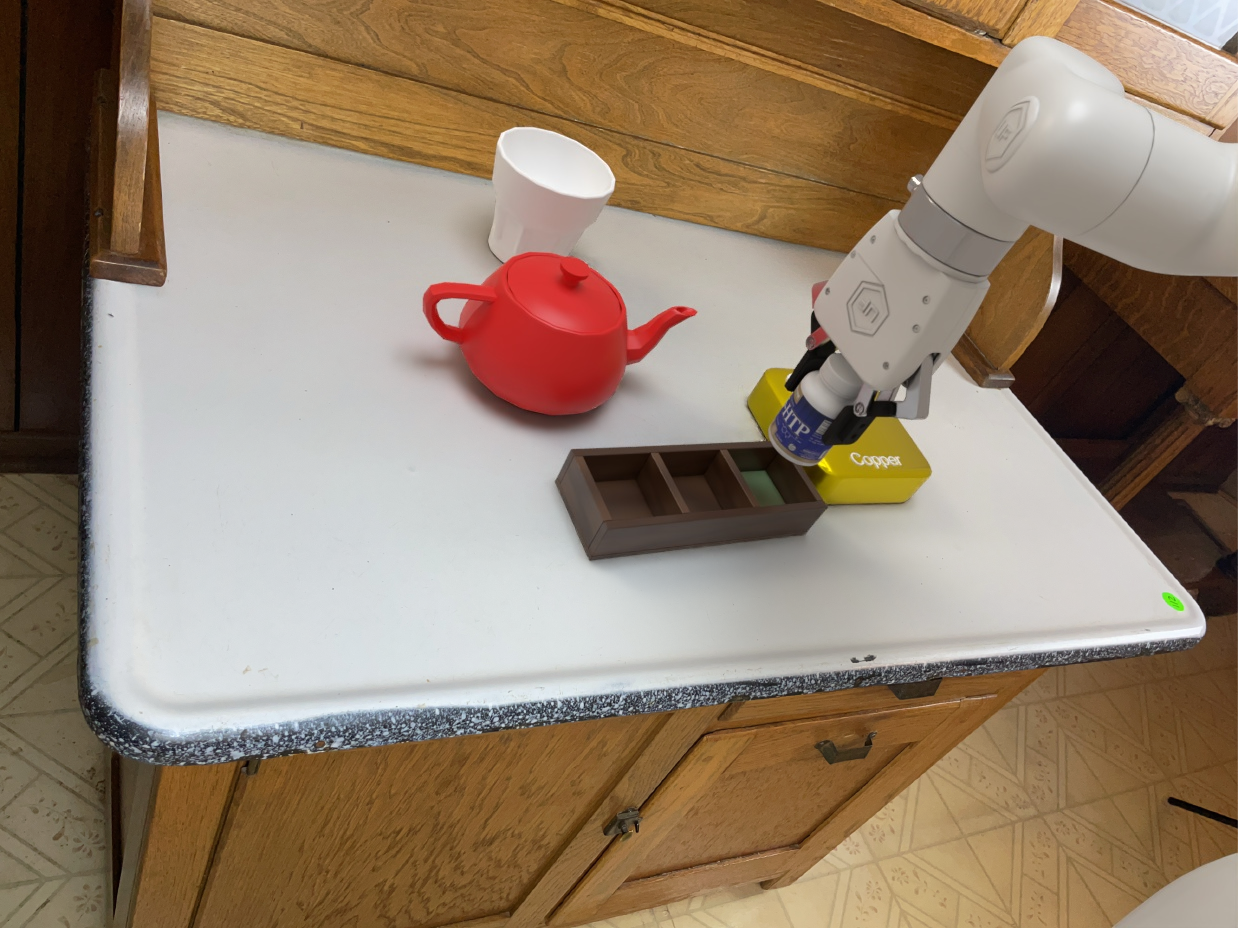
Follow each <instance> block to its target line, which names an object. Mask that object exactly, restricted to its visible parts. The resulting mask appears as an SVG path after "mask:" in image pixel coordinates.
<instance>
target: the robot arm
mask: <svg viewBox="0 0 1238 928" xmlns="http://www.w3.org/2000/svg"><path fill="white" fill-rule="evenodd" d="M906 189H907V190H908V192H910V197H909V198H908V199H907V201H906V202H905V203H904V206H903V207H902V208H901V209H896V208H895V209H891V210H889V211H888V212H887V213H886V214H885V215H883V217H882V218H881V219H879V221H877V222H876V223H875V224H874V225H873V226H872V227H871V228H870V229H869V230H868V231H867V232H866V233H865V234H864V235H863V236H862V238H861V239H860V240H859V241H858V242H857V243H856V245H854V247H853V248H852V249H851V250H850V251H849V253H848V254H847V255H846V257H845V258H844V259H843V260H842V261H841V263H840V264H839V266H838V267H837V268H836V270H835V271H834V273H832V275H831V276H830V277H829V279H827V280H823V281H820V282H816V283H814V284H813V285H812V286H811V306H812V307H811V308H812V309H813V310H812V312H811V313H810V335H808V336H807V337H806V339H805V347H806V350H805V352H804V354H803V356H802V357H801V359H799V361H798V362H797V365H795V367H794V368H793V369H794V371H793V373H792V374H791V376H790V377H789V379H788V380H787V382H786V383H785V385H784V386H785V388H786V389H787V391H790V392H794V391H795V389H796V388H797V386H798V385H799V384H800V382H801V381H802V379H803V378H804V377H805V376H806V375H807V374H808V373H810V372H812V371H816V370H820V368H821V367H822V365H823V364H824V362H825V361H826V360H827V358H828V357H829V356H830V355H831V354H834V353H837V352H836V351H839V353H841V354H842V355H843V357H844V358H845V359H846V361H847V362H848V363H849V364H850V366H851V367H852V368H853V370H854V371H855V372H856V374H857V375H858V376H859V377H860V379H861V380H862V381H863V384H862V386H861V389H860V391H859V394H858V396H857V399H856V401H855V404H854V405H847V406H845V407H844V408H843V409H842V410H841V412H840V413H839V414H838V416H837V417H836V418H835V420H834V421H833V422H832V423H831V425H830V426H829V427H828V429H827V430H826V431H825V433H824V434H823V435H822V439H821V441H822V442H823V444H824V445H825V446H830V445H851V444H853V443H855V442H856V441H857V440H858V439H859V438H860V437H861V435H862V434H863V433H864V432H865V431H866V429H867V428H868V427H869V426H870V424H871V423H872V422H873V421H874V419H875V418H876V417H893V418H898V419H899V420H900V419H901V420H909V421H920V420H922V421H923V420H927V418H928V417H929V414H930V404H931V392H932V379H933V375H935V373H936V372H937V370H939V368H940V367H941V365H942V364H943V363H944V362H945V361H946V359H947V357H949V355H950V353H951V352H952V351H953V349H954V348H955V346H957V344H958V342H959V341H960V339H961V338H962V336H963V335H964V333H966V330H967V329H968V327H969V326H970V324H971V322H972V320H973V319H974V317H975V316H976V314H977V312H978V310H979V308H980V307H981V305H982V303H983V301H984V299H985V297H986V295H987V293H988V291H989V290H990V287H991V283H990V281H989V279H988V278H989V276H990V275H991V274H992V273H993V271H995V270H996V268H997V267H998V265H999V264H1000V263H1001V261H1003V259H1004V258H1005V256H1006V255H1007V254H1008V253H1009V252H1010V251H1011V249H1012V248H1013V247H1014V245H1015V244H1016V243H1017V242H1018V240H1020V238H1021V237H1022V236H1023V235H1024V233H1025V232H1026V231H1027V230H1028V228H1029V227H1030V226H1033V227H1035V228H1038V229H1040V230H1042V231H1044V232H1047V233H1049V234H1052V235H1054V236H1055V237H1056V236H1057V237H1060V238H1062V239H1066V240H1068V241H1071V242H1073V243H1075V244H1078V245H1080V246H1083V247H1085V248H1087V249H1089V250H1091V251H1095V252H1097V253H1099V254H1102V255H1104V256H1107V257H1109V258H1111V259H1114V260H1116V261H1117V262H1121V263H1123V264H1124V265H1127V266H1129V267H1133V268H1136V269H1139V270H1143V271H1147V272H1151V273H1157V274H1163V275H1171V276H1173V275H1174V276H1185V277H1186V276H1187V277H1188V276H1189V277H1191V276H1192V277H1238V142H1221V141H1218V140H1215V139H1213V138H1211V137H1210V136H1208V135H1205V134H1203V133H1201V132H1200V131H1197V130H1195V129H1194V128H1191V127H1190V126H1188V125H1185V124H1183V123H1181V122H1179V121H1177V120H1175V119H1172V118H1170V117H1168V116H1166V115H1164V114H1162V113H1160V112H1158V111H1156V110H1153V109H1151V108H1149V107H1147V106H1145V105H1142V104H1140V103H1138V102H1135V101H1133V100H1131V99H1128V98H1126V92H1125V87H1124V85H1123V84H1122V82H1121V80H1120V79H1119V78H1118V77H1117V75H1115V74H1114V73H1113V72H1112V71H1110V70H1109V69H1108V68H1107V67H1106V66H1104V65H1103V64H1101V63H1100V62H1099V61H1098V60H1096V59H1095V58H1092V56H1089V55H1088V54H1086V53H1085V52H1083V51H1081V50H1079V49H1077V48H1076V47H1074V46H1072V45H1070V44H1068V43H1066V42H1063V41H1060V40H1058V39H1055V38H1053V37H1051V36H1045V35H1033V36H1028V37H1026V38H1024V39H1022V40H1021V41H1019V42H1018V43H1017V44H1016V45H1015V46H1014V47H1012V49H1011V50H1010V51H1009V52H1008V54H1007V55H1006V56H1005V57H1004V59H1003V60H1002V62H1001V63H1000V64H999V66H998V68H997V69H996V70H995V72H994V74H993V75H992V77H991V78H990V79H989V81H988V82H987V84H986V85H985V87H984V88H983V90H982V91H981V92H980V94H979V96H978V97H977V98H976V100H975V101H974V103H973V104H972V106H971V107H970V109H969V110H968V112H967V113H966V115H965V116H964V117H963V119H962V120H961V122H960V123H959V125H958V126H957V128H956V129H955V130H954V132H953V134H952V135H951V136H950V138H949V139H948V141H947V142H946V144H945V145H944V147H943V148H942V150H941V151H940V152H939V154H938V156H937V157H936V158H935V160H934V162H933V163H932V164H931V166H930V168H929V169H928V170H927V172H926V173H925V174H924V175H922V174H921V173H917V174H915V175H914V176H912V177H911V178H910V179H909V181H908V182H907V185H906ZM901 386H902V387H903V388H904V389H905V397H904V399H903V400H895V399H896V397H897V394H898V392H899V391H900V388H901ZM878 391H879V394H878V397H877V399H876V401H874V400H875V397H876V395H877V392H878ZM1111 928H1238V852H1236V853H1232V854H1228V855H1225V856H1223V857H1220V858H1218V859H1215V860H1213V861H1210V862H1208V863H1205V864H1203V865H1201V866H1198V867H1196V868H1194V869H1192V870H1191V871H1189V872H1187V873H1185V874H1183V875H1181V876H1179V877H1177V878H1176V879H1175V880H1173V881H1171V882H1170V883H1168V884H1167V885H1165V886H1163V887H1162V888H1160V889H1159V890H1158V891H1156V892H1155V893H1153V894H1152V895H1151V896H1150V897H1149V898H1147V899H1145V900H1144V901H1143V902H1142V903H1140V904H1139V905H1138V906H1137V907H1135V908H1134V909H1133V910H1131V911H1130V912H1129V913H1127V914H1126V915H1125V916H1124V917H1122V918H1121V919H1120V920H1119V921H1118V922H1117V923H1115V924H1114V925H1113V926H1112V927H1111Z"/></svg>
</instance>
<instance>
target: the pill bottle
mask: <svg viewBox="0 0 1238 928" xmlns="http://www.w3.org/2000/svg"><path fill="white" fill-rule="evenodd" d="M862 384H863V381H862V380H861V379H860V377H859V376H858V375H857V374H856V372H855V371H854V370H853V368H852V367H851V366H850V364H849V363H848V362H847V361H846V359H845V358H844V357H843V355H842V354H841V353H840V352H836V353H834V354H831V355H830V356H829V357H828V358H827V360H826V361H825V362H824V364H823V365H822V367H821V368H820V370H816V371H812V372H810V373H808V374H807V375H806V376H805V377H804V378H803V379H802V381H801V382H800V384H799V385H798V386H797V388H796V389H795V391H794V392H793V394H792V395H791V396H790V398H789V399H788V401H787V402H786V403H785V405H784V406H783V408H782V409H781V410H780V412H779V413H778V415H777V416H776V417H775V419H774V420H773V422H772V423H771V425H770V427H769V430H768V434H769V439H770V441H771V443H772V445H773V446H774V448H775V449H776V450H777V451H778V452H779V453H780V454H781V455H782V456H783V457H785V458H786V459H787V460H789V461H791V462H793V463H795V464H798V465H802V466H813V465H816V464H818V463H819V462H820V461H821V460H822V459H823V458H824V457H825V455H826V454H827V453H828V452H829V450H830V449H831V448H832V447H833V445H830V446H825V445H824V444H823V442H822V441H821V439H822V435H823V434H824V433H825V431H826V430H827V429H828V427H829V426H830V425H831V423H832V422H833V421H834V420H835V418H836V417H837V416H838V414H839V413H840V412H841V410H842V409H843V408H844V407H845V406H847V405H854V404H855V401H856V399H857V396H858V394H859V391H860V389H861V386H862Z"/></svg>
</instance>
